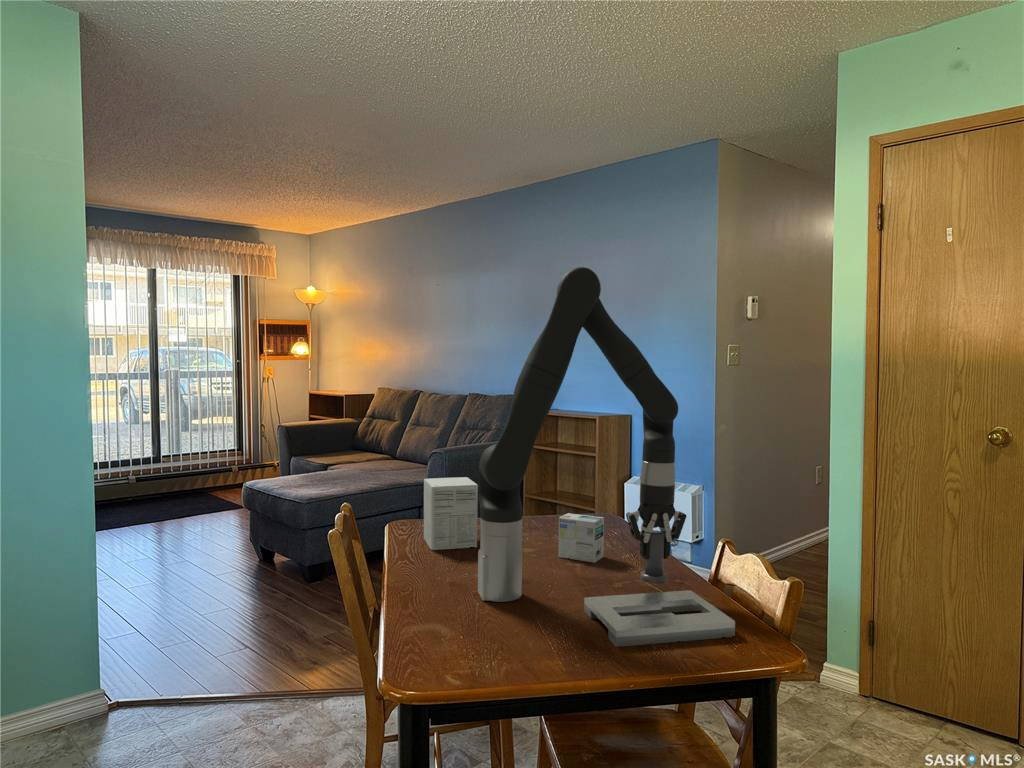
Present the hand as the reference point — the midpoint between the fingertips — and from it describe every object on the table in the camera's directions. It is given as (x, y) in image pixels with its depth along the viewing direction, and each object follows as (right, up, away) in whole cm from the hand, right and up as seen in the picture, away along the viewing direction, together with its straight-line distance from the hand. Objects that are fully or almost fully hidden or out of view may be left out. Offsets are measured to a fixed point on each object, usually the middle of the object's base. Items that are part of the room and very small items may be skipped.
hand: (654, 557), depth 157 cm
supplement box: (-49, -6, +41) cm, 65 cm away
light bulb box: (-14, -7, +29) cm, 33 cm away
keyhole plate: (-3, -9, -17) cm, 19 cm away
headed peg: (0, -5, 0) cm, 5 cm away
